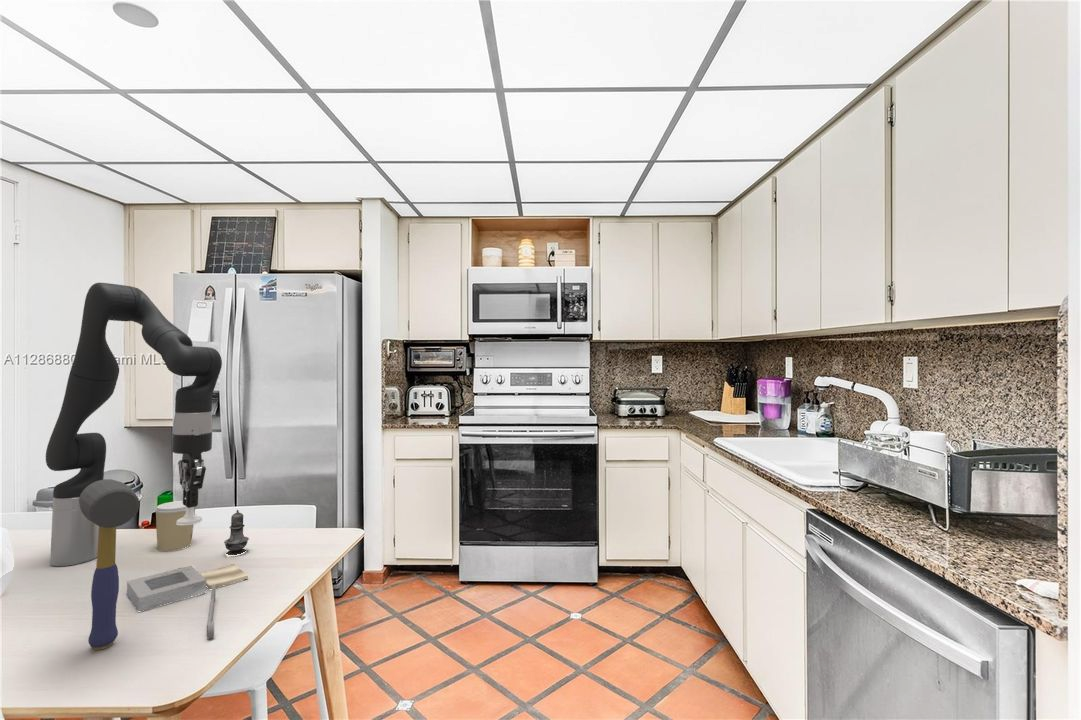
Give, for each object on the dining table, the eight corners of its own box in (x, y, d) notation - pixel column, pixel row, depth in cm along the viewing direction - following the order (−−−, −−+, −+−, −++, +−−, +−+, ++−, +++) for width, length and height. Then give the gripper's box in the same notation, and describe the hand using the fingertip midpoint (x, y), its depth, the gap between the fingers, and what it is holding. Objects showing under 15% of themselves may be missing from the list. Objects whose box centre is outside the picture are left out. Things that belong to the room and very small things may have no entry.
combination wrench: (214, 623, 91) (219, 581, 108) (205, 625, 91) (212, 582, 108) (213, 643, 91) (218, 597, 108) (205, 645, 91) (211, 599, 108)
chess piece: (173, 526, 109) (175, 482, 109) (178, 520, 113) (180, 477, 114) (200, 524, 111) (201, 480, 111) (204, 518, 116) (205, 476, 116)
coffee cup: (200, 545, 139) (202, 503, 140) (161, 555, 132) (163, 510, 132) (186, 538, 144) (187, 498, 145) (148, 548, 137) (149, 505, 137)
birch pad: (196, 577, 118) (196, 573, 118) (233, 568, 124) (233, 564, 124) (209, 590, 111) (209, 585, 111) (248, 579, 117) (248, 575, 117)
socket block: (126, 594, 108) (127, 581, 109) (190, 577, 118) (191, 565, 118) (138, 612, 101) (139, 597, 101) (205, 593, 110) (206, 579, 110)
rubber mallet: (69, 642, 89) (76, 480, 90) (122, 626, 95) (128, 474, 96) (80, 669, 81) (88, 491, 82) (137, 650, 87) (143, 483, 88)
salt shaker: (236, 558, 131) (238, 513, 131) (218, 556, 132) (219, 511, 132) (253, 550, 136) (254, 507, 137) (235, 548, 138) (237, 506, 138)
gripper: (166, 430, 115) (163, 503, 114) (180, 435, 106) (177, 515, 105) (203, 427, 120) (201, 497, 120) (220, 432, 111) (217, 508, 111)
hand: (190, 505), depth 112 cm, fingers closed on chess piece
